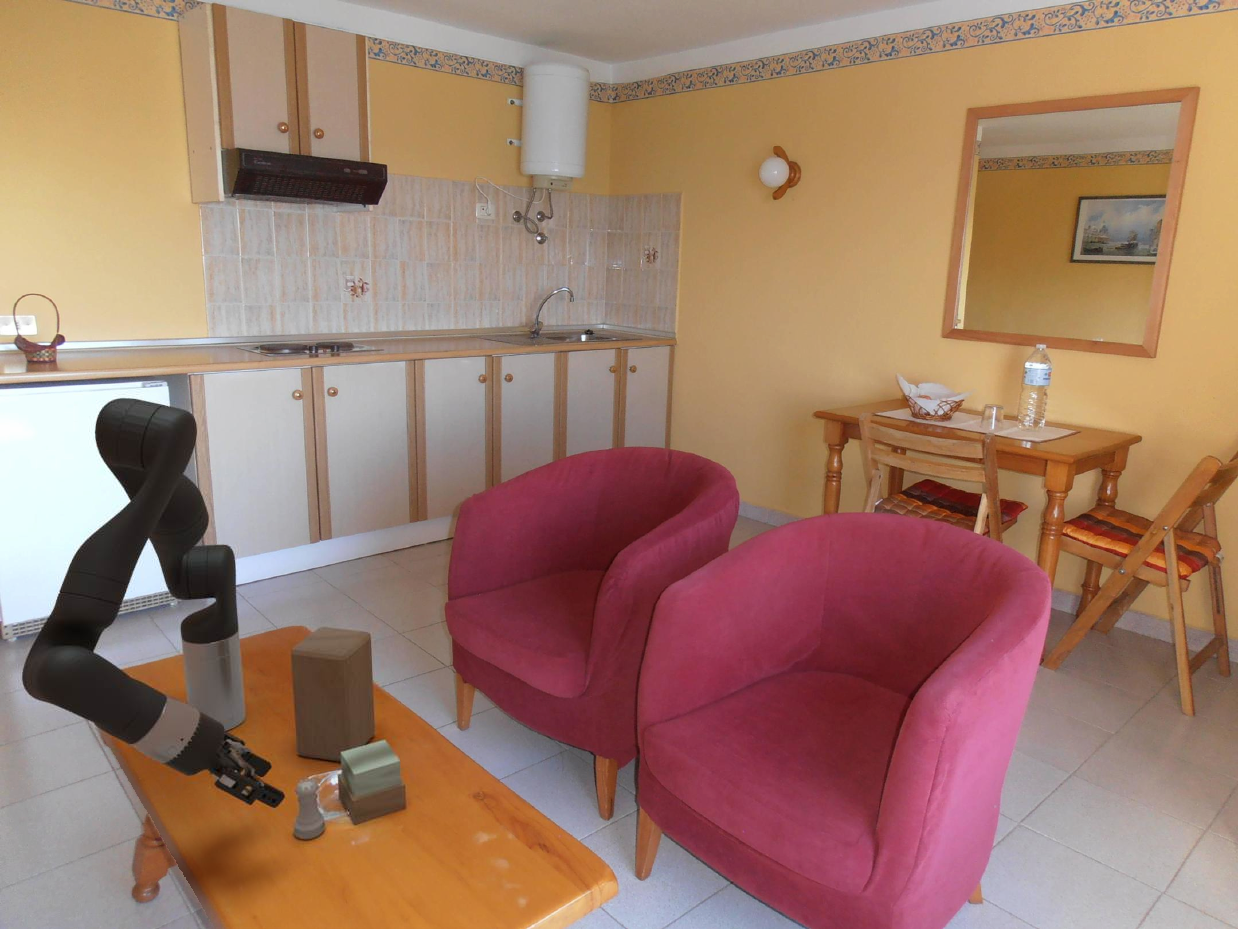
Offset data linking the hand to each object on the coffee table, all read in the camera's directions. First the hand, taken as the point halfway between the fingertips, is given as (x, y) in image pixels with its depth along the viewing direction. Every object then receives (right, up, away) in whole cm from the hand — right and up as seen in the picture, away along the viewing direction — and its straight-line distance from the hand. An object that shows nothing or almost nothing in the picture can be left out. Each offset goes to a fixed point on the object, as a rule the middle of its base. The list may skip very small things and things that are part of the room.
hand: (273, 785), depth 122 cm
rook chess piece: (+4, -9, +5) cm, 10 cm away
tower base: (+11, -7, +12) cm, 17 cm away
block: (0, -3, +27) cm, 27 cm away
